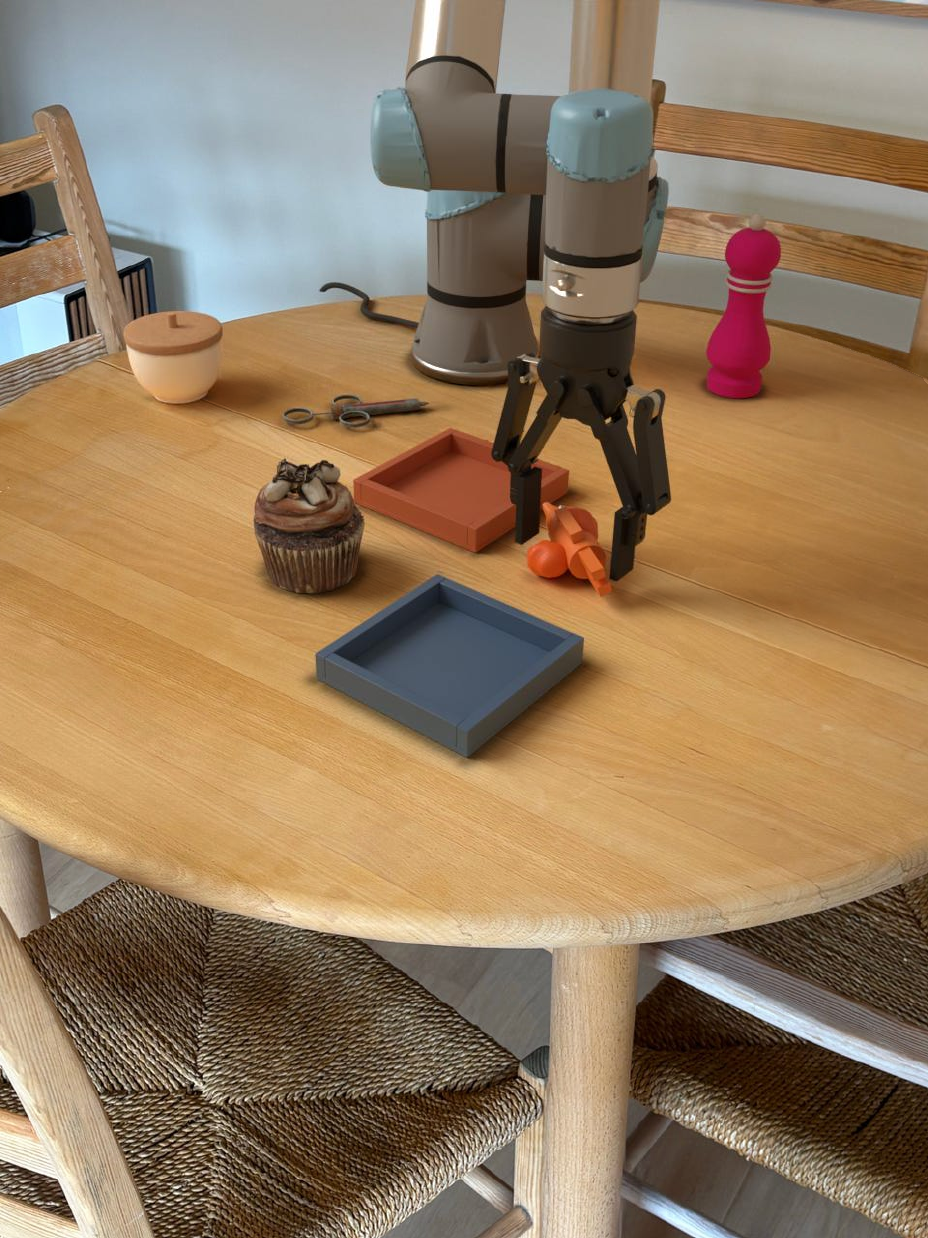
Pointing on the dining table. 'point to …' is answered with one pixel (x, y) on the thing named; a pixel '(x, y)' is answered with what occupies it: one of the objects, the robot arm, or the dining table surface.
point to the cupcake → (308, 528)
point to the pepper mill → (744, 314)
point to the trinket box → (175, 354)
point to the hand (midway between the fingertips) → (573, 555)
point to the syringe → (359, 410)
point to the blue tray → (450, 662)
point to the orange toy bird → (570, 547)
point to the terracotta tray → (452, 489)
